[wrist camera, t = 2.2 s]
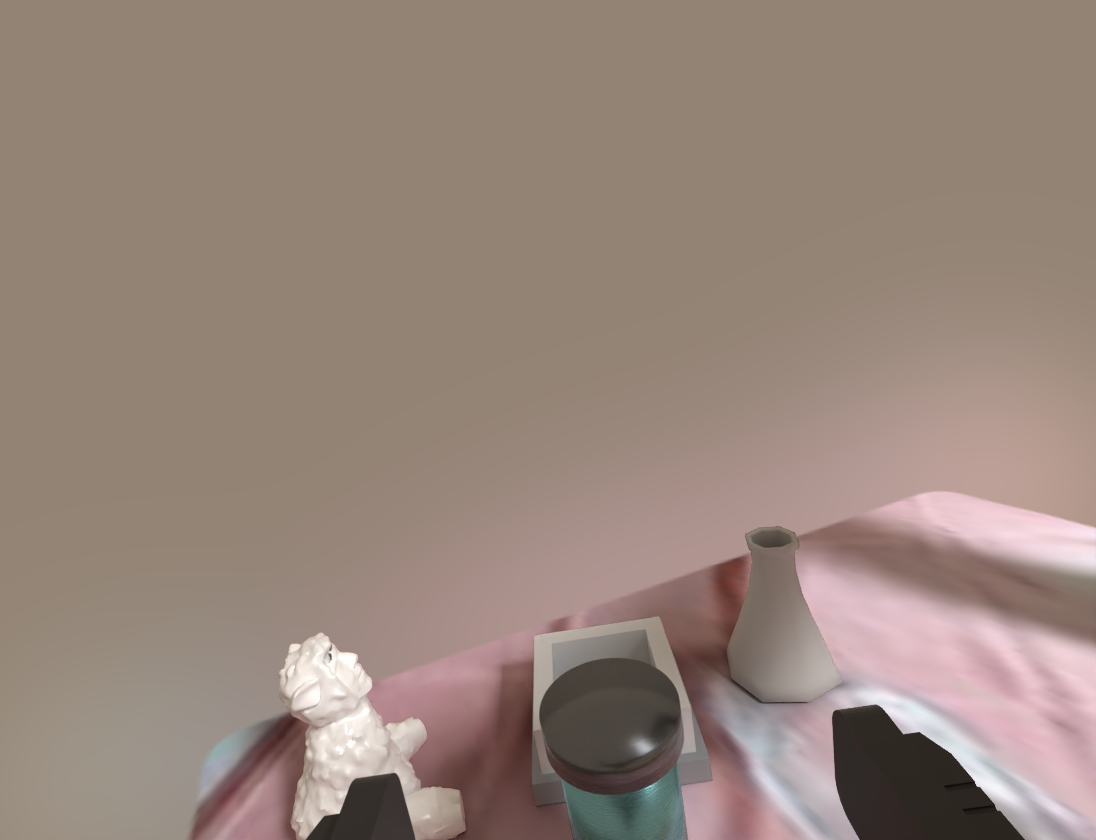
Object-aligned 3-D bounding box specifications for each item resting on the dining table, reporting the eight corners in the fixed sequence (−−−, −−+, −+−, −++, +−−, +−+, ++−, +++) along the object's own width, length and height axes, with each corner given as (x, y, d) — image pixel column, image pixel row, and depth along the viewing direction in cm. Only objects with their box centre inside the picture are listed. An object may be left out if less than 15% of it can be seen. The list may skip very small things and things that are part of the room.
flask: (709, 649, 44) (696, 526, 42) (801, 627, 45) (793, 504, 42) (756, 719, 37) (744, 576, 35) (864, 691, 38) (859, 549, 35)
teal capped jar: (692, 858, 29) (663, 649, 26) (726, 992, 24) (696, 748, 21) (579, 874, 30) (539, 668, 27) (588, 1010, 24) (538, 771, 21)
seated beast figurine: (478, 833, 33) (432, 644, 30) (317, 937, 29) (245, 732, 26) (422, 732, 41) (381, 575, 38) (290, 802, 37) (233, 634, 34)
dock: (673, 664, 43) (666, 610, 42) (712, 780, 33) (704, 713, 32) (536, 685, 43) (525, 631, 42) (535, 806, 34) (522, 740, 33)
